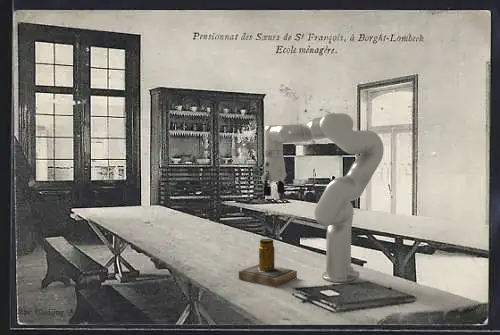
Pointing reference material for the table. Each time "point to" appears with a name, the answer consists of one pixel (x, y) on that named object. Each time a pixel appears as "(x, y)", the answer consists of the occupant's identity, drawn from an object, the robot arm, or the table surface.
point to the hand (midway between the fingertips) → (274, 194)
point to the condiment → (267, 256)
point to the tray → (268, 276)
